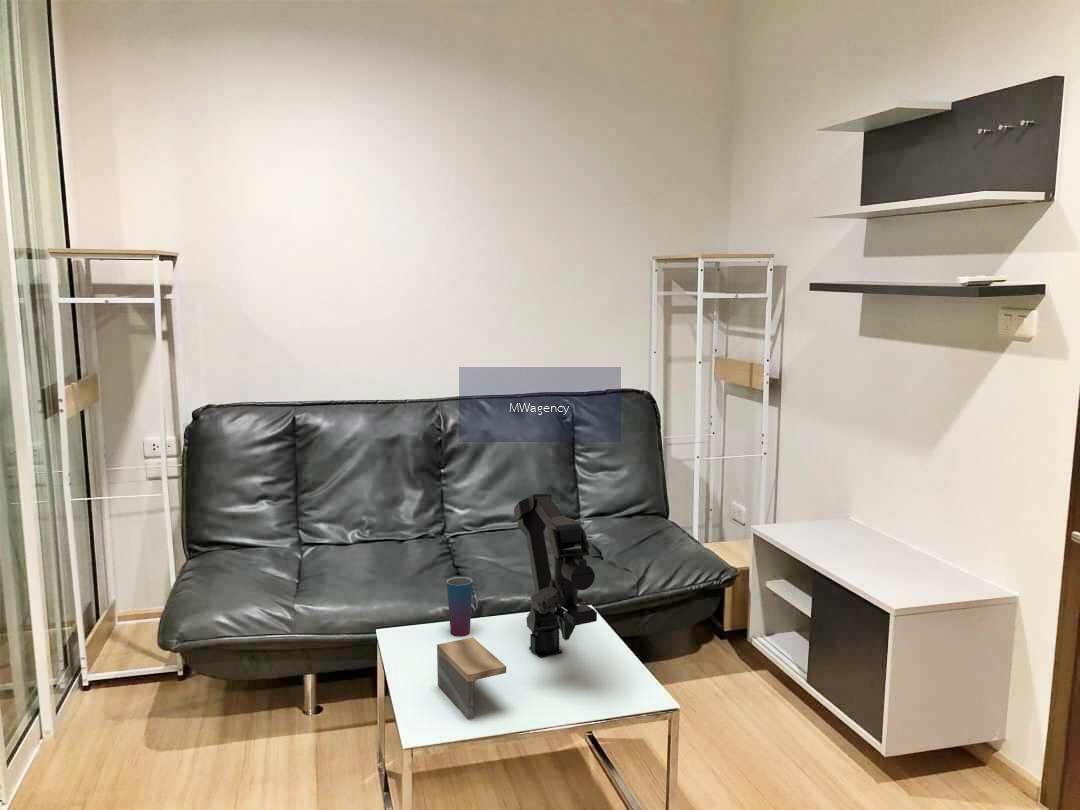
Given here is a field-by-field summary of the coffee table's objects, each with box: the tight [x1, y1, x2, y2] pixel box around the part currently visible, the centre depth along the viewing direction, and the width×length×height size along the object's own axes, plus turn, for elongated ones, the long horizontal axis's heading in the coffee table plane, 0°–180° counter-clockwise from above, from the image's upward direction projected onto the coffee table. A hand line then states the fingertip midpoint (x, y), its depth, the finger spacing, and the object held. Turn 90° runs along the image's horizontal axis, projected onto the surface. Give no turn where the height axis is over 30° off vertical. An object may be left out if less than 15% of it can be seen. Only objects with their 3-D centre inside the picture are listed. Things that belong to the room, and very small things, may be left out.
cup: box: [446, 576, 474, 638], centre depth 226 cm, size 7×7×15 cm
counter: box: [436, 636, 507, 721], centre depth 191 cm, size 9×18×10 cm, turn 28°
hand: (565, 639), depth 202 cm, fingers closed
